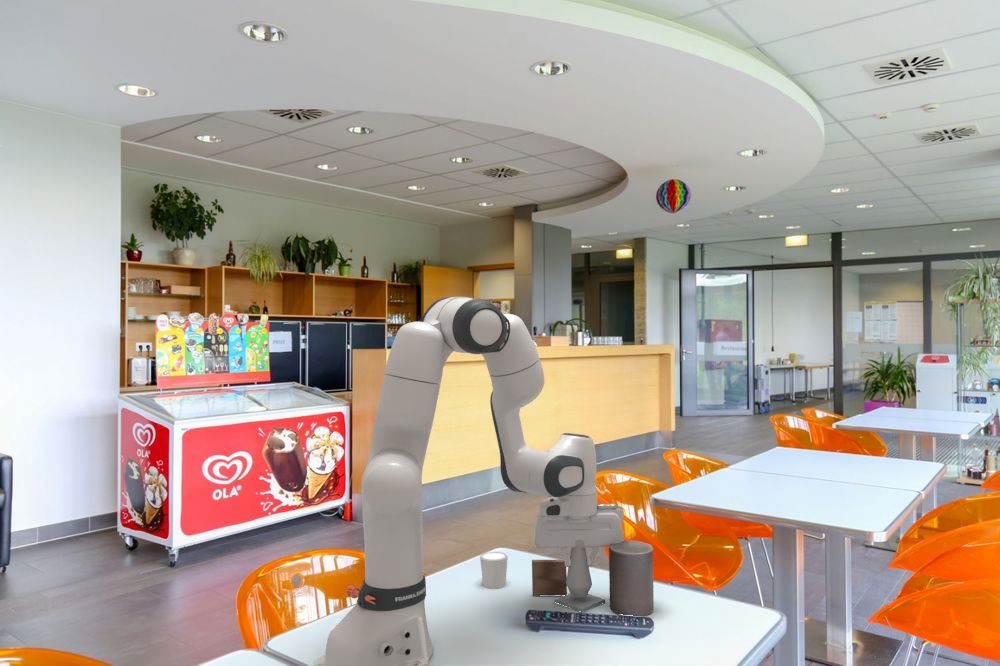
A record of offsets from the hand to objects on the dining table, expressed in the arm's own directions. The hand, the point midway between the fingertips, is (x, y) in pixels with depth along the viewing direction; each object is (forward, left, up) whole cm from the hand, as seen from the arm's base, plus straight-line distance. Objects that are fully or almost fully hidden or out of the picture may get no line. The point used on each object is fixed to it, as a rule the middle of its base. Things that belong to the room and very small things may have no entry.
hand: (578, 566), depth 154 cm
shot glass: (-5, +23, -9) cm, 25 cm away
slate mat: (0, 0, -8) cm, 8 cm away
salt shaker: (0, 0, -6) cm, 6 cm away
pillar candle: (+5, -11, -9) cm, 15 cm away
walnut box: (-1, +8, -8) cm, 12 cm away
